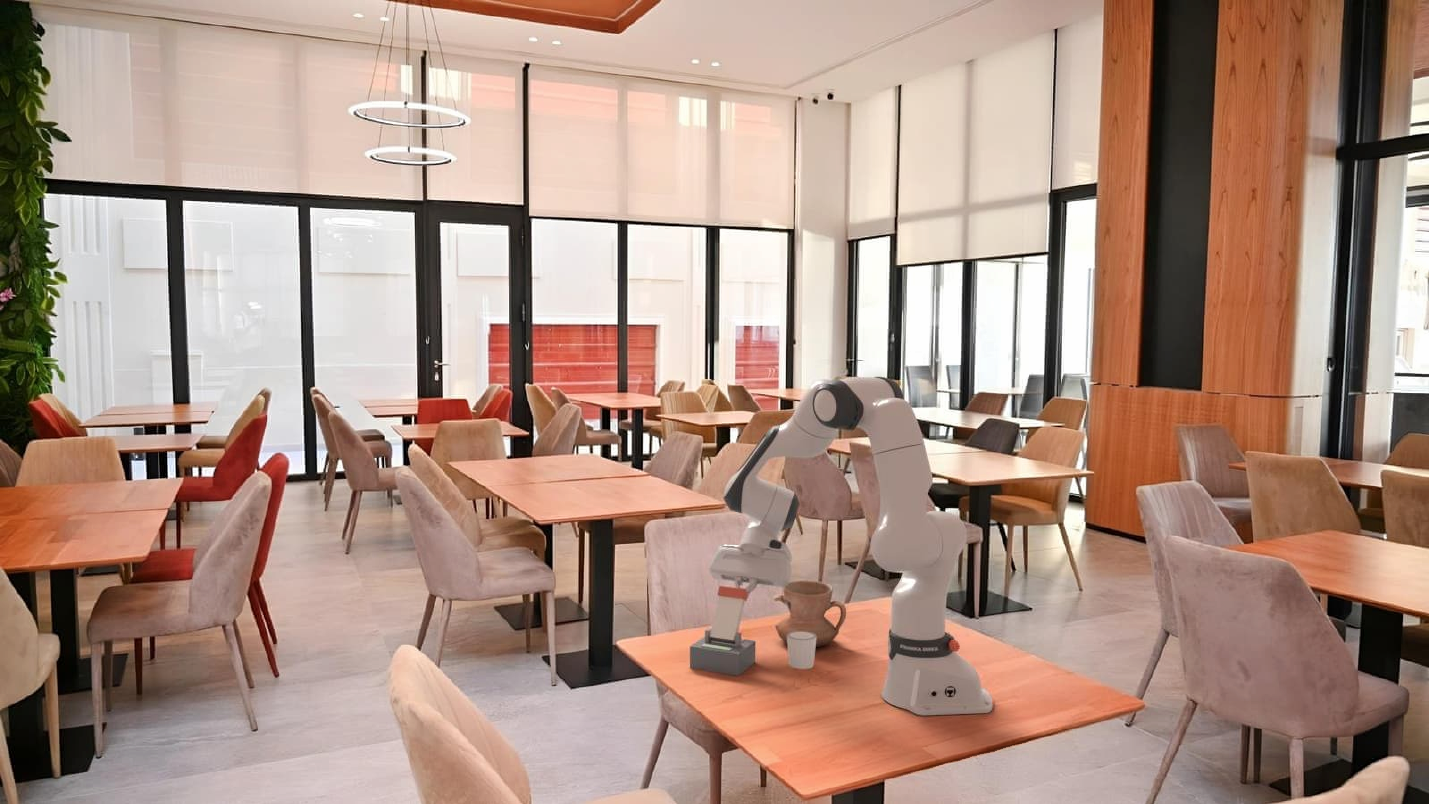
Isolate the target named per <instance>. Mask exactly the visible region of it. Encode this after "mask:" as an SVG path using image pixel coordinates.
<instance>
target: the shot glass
mask: <svg viewBox="0 0 1429 804" xmlns="http://www.w3.org/2000/svg"><path fill="white" fill-rule="evenodd" d="M816 638H817V636H816V634H814V633H811V632H806V631H794V632H790V633H788V634H787V642H786V643H787V655H788V665H789V667H791V668H792V669H796V668H797V670H808V669H811V668H813V667H814V665H815V656H816Z"/></svg>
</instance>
